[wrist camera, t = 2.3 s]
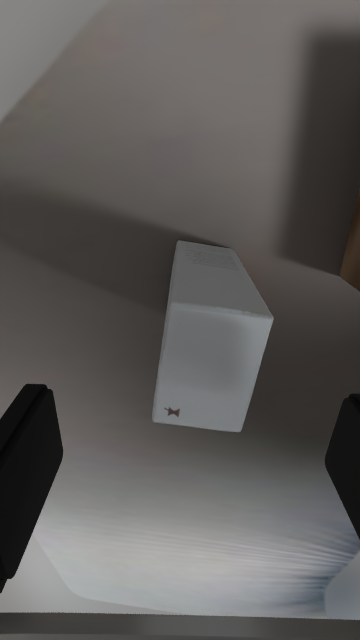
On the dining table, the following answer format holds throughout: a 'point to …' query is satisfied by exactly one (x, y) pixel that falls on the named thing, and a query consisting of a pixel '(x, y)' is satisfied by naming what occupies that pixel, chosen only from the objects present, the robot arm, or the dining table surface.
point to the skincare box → (210, 340)
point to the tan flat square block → (353, 250)
